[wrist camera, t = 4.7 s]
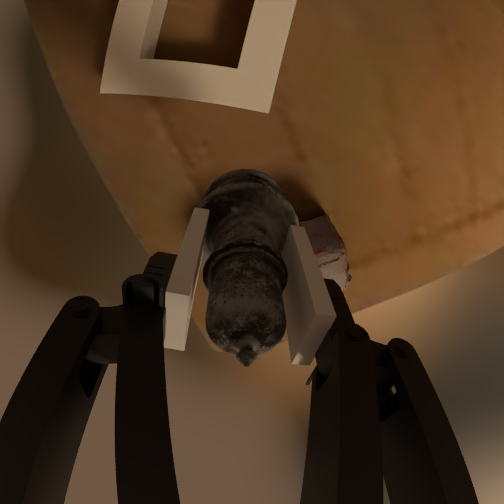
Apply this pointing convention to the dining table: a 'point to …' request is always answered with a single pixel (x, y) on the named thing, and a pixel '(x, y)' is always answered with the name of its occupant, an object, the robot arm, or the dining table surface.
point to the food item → (328, 250)
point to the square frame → (196, 74)
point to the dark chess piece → (246, 262)
